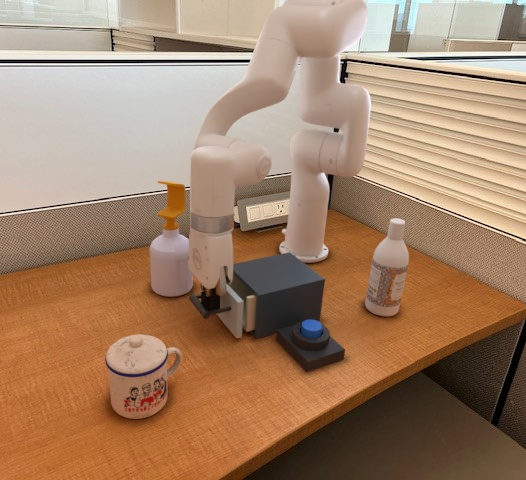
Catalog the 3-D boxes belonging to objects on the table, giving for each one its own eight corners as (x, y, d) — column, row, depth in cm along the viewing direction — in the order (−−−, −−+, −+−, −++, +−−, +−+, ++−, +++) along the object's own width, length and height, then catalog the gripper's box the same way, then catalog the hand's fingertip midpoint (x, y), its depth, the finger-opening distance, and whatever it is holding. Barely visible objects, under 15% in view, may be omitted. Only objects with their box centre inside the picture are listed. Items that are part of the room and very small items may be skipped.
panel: (276, 339, 90) (277, 321, 88) (311, 329, 93) (313, 311, 92) (306, 372, 82) (308, 353, 80) (343, 359, 85) (346, 341, 84)
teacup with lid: (124, 430, 69) (118, 366, 64) (100, 393, 75) (93, 332, 70) (196, 397, 75) (196, 336, 70) (168, 365, 82) (166, 308, 77)
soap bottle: (143, 292, 103) (137, 183, 93) (165, 273, 111) (161, 171, 101) (180, 301, 100) (178, 190, 90) (199, 282, 108) (200, 177, 98)
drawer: (207, 346, 86) (208, 309, 82) (184, 314, 95) (184, 279, 91) (297, 321, 94) (301, 286, 91) (268, 293, 103) (270, 261, 100)
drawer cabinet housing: (256, 339, 90) (259, 295, 86) (226, 305, 100) (228, 264, 96) (319, 320, 96) (325, 278, 92) (286, 290, 106) (289, 252, 102)
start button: (297, 330, 87) (297, 322, 86) (313, 325, 88) (314, 317, 87) (308, 341, 84) (309, 333, 83) (325, 336, 85) (326, 328, 85)
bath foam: (382, 321, 97) (400, 230, 88) (357, 305, 102) (371, 218, 93) (405, 311, 100) (424, 223, 92) (379, 296, 105) (395, 212, 97)
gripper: (175, 208, 87) (177, 295, 94) (210, 240, 75) (208, 337, 82) (213, 202, 90) (212, 287, 98) (252, 232, 78) (246, 326, 86)
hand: (210, 310), depth 90 cm, fingers closed
